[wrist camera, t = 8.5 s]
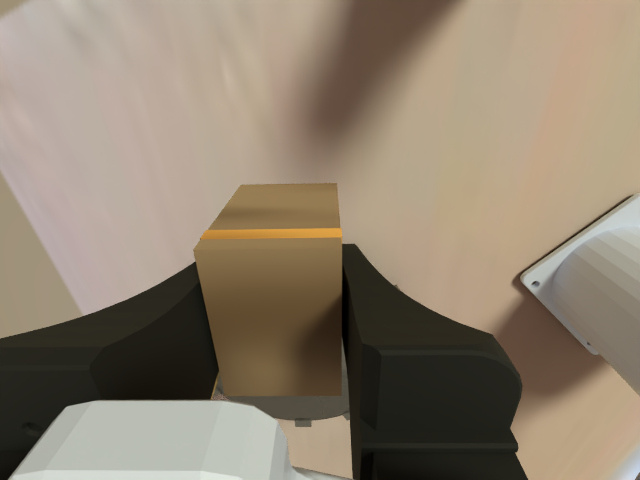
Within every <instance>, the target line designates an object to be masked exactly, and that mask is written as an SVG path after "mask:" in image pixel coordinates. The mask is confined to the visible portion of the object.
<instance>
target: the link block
mask: <svg viewBox="0 0 640 480" xmlns="http://www.w3.org/2000/svg"><path fill="white" fill-rule="evenodd" d="M193 251H194V256H195V260H196V265H197V269H198V274H199V279H200V283H201V288H202V293H203V297H204V302H205V306H206V311H207V316H208V320H209V325H210V329H211V334H212V339H213V343H214V348H215V353H216V357H217V362H218V366H219V371H220V376H221V380H222V385H223V389H224V394H225V396H341V394H342V230H341V228H340V216H339V204H338V192H337V183H318V184H265V185H241V186H240V187H239V188H238V190H237V191H236V192H235V194H234V195H233V196H232V198H231V199H230V201H229V202H228V203H227V205H226V206H225V207H224V209H223V210H222V211H221V213H220V214H219V215H218V217H217V218H216V220H215V221H214V222H213V224H212V225H211V226H210V228H209V229H208V230H206V231H205V233H204V234H203V235H202V237H201V238H200V241H199V243H198V244H197V245H196V247H195V248H194V249H193Z"/></svg>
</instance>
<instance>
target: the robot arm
mask: <svg viewBox="0 0 640 480" xmlns="http://www.w3.org/2000/svg"><path fill="white" fill-rule="evenodd" d="M520 280H521V282H522V283H523V284H524V285H525V286H526V287H527V288H528V289H529V290H530V291H531V292H532V293H533V294H534V295H535V297H536V298H537V299H538V300H539V301H540V302H541V303H542V304H543V305H544V306H545V307H546V308H547V309H548V310H549V311H550V312H551V313H552V314H553V315H554V316H555V317H556V318H557V319H558V320H559V321H560V322H561V323H562V324H563V325H564V326H565V327H566V328H567V329H568V330H569V331H570V332H571V333H572V334H573V335H574V336H575V338H576V339H577V340H578V341H579V342H580V343H581V344H582V345H583V346H584V347H585V348H586V349H587V350H588V351H589V352H590V353H591V354H593V355H599V354H600V355H601V356H602V357H603V358H604V359H605V360H606V361H607V362H608V363H609V364H610V365H611V366H612V368H613V369H614V370H615V371H616V372H617V373H618V374H619V375H620V376H621V377H622V378H623V379H624V380H625V381H626V382H627V383H628V384H629V385H630V386H631V387H632V389H633V390H634V391H635V392H636V393H637V394H638V395H639V396H640V193H637V194H635V195H633V196H632V197H630V198H629V199H627V200H626V201H625V202H623V203H622V204H620V205H619V206H618V207H616V208H615V209H613V210H612V211H610V212H609V213H608V214H606V215H605V216H603V217H602V218H600V219H599V220H598V221H596V222H595V223H593V224H592V225H590V226H589V227H588V228H586V229H585V230H583V231H582V232H581V233H579V234H578V235H576V236H575V237H573V238H572V239H571V240H569V241H568V242H566V243H565V244H563V245H562V246H561V247H559V248H558V249H556V250H555V251H553V252H552V253H551V254H549V255H548V256H546V257H545V258H544V259H542V260H541V261H539V262H538V263H536V264H535V265H534V266H532V267H531V268H529V269H528V270H526V271H525V272H524V273H523V274H522V275H521V276H520ZM535 281H536V282H535ZM533 282H535V283H534V284H532V283H533ZM342 342H343V348H344V355H345V361H346V367H347V377H348V392H349V411H350V430H351V451H352V472H353V479H349V478H345V477H340V476H336V475H331V474H326V473H322V472H317V471H313V470H308V469H304V468H299V467H294V466H291V463H290V460H289V453H288V443H287V438H286V436H285V434H284V433H283V431H282V429H281V427H280V425H279V423H278V421H277V420H276V419H275V418H273V417H272V416H270V415H268V414H267V413H265V412H264V411H262V410H260V409H259V408H257V407H255V406H254V405H251V404H246V403H240V402H234V401H229V400H211V397H212V393H213V389H214V386H215V382H216V378H217V375H218V372H219V366H218V362H217V357H216V353H215V348H214V343H213V339H212V334H211V329H210V325H209V320H208V316H207V311H206V306H205V302H204V297H203V293H202V288H201V283H200V279H199V274H198V269H197V265H196V262H194V263H193V264H191V265H190V266H188V267H187V268H185V269H183V270H182V271H180V272H178V273H177V274H175V275H173V276H172V277H170V278H168V279H167V280H165V281H163V282H162V283H160V284H158V285H156V286H154V287H152V288H150V289H148V290H146V291H144V292H142V293H140V294H138V295H136V296H134V297H132V298H130V299H127V300H125V301H122V302H120V303H117V304H115V305H112V306H110V307H107V308H105V309H102V310H100V311H97V312H94V313H91V314H88V315H85V316H82V317H80V318H76V319H74V320H70V321H67V322H64V323H60V324H57V325H53V326H50V327H46V328H42V329H38V330H34V331H30V332H26V333H22V334H18V335H14V336H9V337H5V338H1V339H0V480H528V478H527V476H526V474H525V472H524V470H523V468H522V466H521V464H520V462H519V460H518V458H517V456H516V454H515V452H517V451H518V443H517V441H516V439H515V437H514V435H513V433H512V431H511V429H510V427H511V424H512V421H513V418H514V416H515V413H516V410H517V407H518V404H519V401H520V398H521V392H522V383H521V379H520V375H519V373H518V372H517V370H516V368H515V367H514V365H513V364H512V362H511V360H510V359H509V357H508V356H507V354H506V352H505V351H504V350H503V348H502V347H501V346H500V344H499V343H498V342H497V340H496V339H495V338H494V336H493V335H492V334H489V333H486V332H483V331H480V330H478V329H475V328H472V327H469V326H466V325H463V324H461V323H458V322H456V321H454V320H451V319H449V318H447V317H445V316H442V315H440V314H438V313H436V312H434V311H432V310H430V309H428V308H427V307H425V306H423V305H421V304H420V303H418V302H416V301H415V300H413V299H411V298H410V297H408V296H407V295H406V294H404V293H403V292H401V291H400V290H399V289H397V288H396V287H395V286H393V285H392V284H391V283H390V282H389V281H388V280H386V279H385V278H384V277H383V276H382V275H381V274H380V273H379V272H378V271H377V270H376V269H375V268H374V266H373V265H372V264H371V263H370V262H369V261H368V260H367V258H366V257H365V256H364V255H363V253H362V252H361V251H360V249H359V248H358V247H357V246H356V245H355V244H342ZM635 480H640V473H639V474H638V475H637V477H636V479H635Z"/></svg>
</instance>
